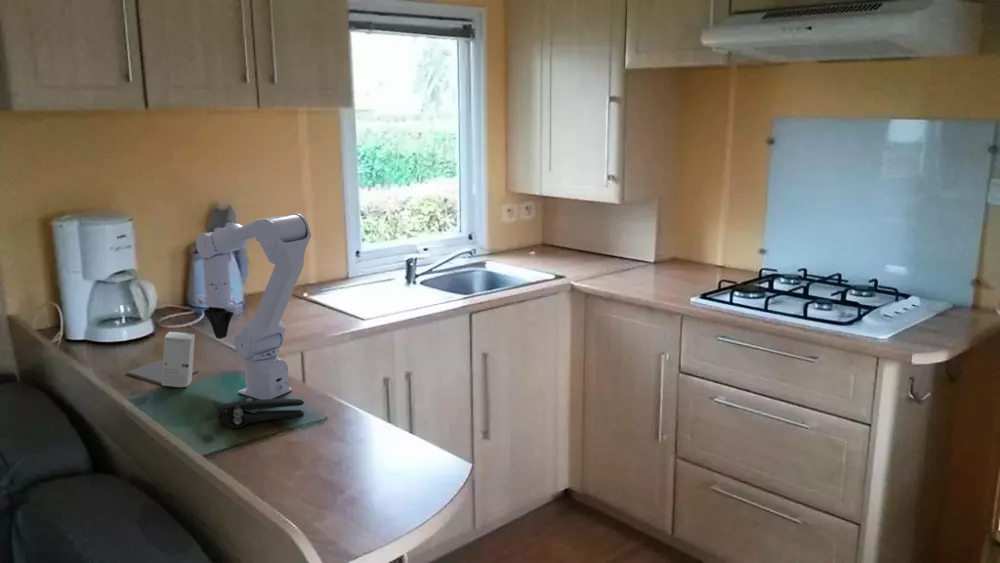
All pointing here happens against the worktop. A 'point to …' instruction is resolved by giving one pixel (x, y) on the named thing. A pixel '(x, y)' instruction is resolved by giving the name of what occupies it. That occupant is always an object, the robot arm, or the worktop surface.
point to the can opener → (239, 417)
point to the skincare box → (178, 359)
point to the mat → (151, 372)
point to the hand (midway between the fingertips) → (221, 337)
